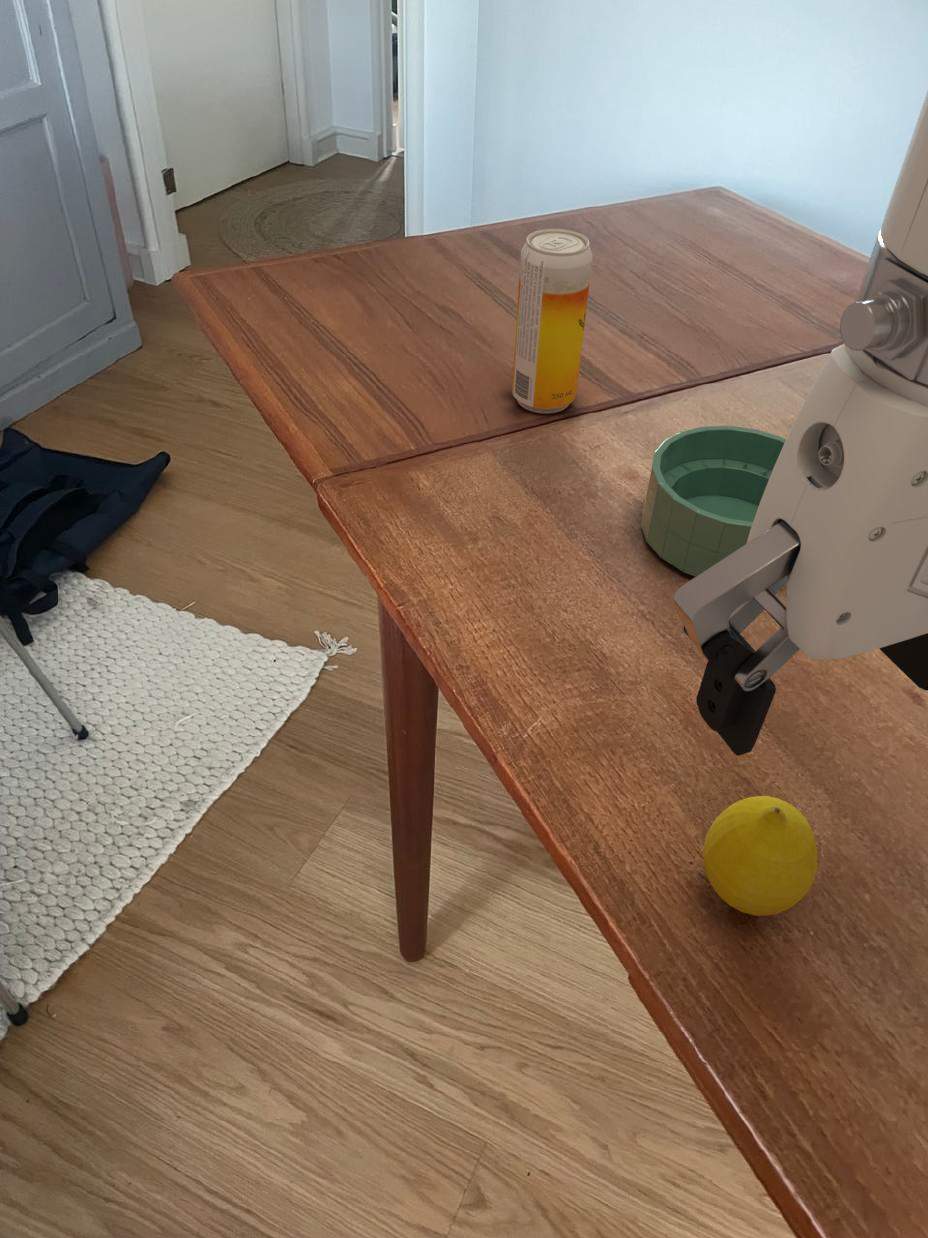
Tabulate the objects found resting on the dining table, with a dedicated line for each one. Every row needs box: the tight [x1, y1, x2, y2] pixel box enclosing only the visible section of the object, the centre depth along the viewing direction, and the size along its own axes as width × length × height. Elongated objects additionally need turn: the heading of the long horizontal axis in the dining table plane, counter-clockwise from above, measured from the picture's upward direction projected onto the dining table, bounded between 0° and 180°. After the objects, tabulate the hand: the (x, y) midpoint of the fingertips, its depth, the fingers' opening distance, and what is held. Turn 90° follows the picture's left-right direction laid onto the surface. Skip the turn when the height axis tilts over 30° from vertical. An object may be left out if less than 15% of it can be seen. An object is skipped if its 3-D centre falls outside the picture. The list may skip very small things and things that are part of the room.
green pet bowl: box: [640, 425, 787, 578], centre depth 72 cm, size 13×13×6 cm
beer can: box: [511, 228, 594, 414], centre depth 83 cm, size 6×6×15 cm
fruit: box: [702, 795, 818, 917], centre depth 48 cm, size 6×6×8 cm
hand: (817, 696), depth 40 cm, fingers open, 9 cm apart
